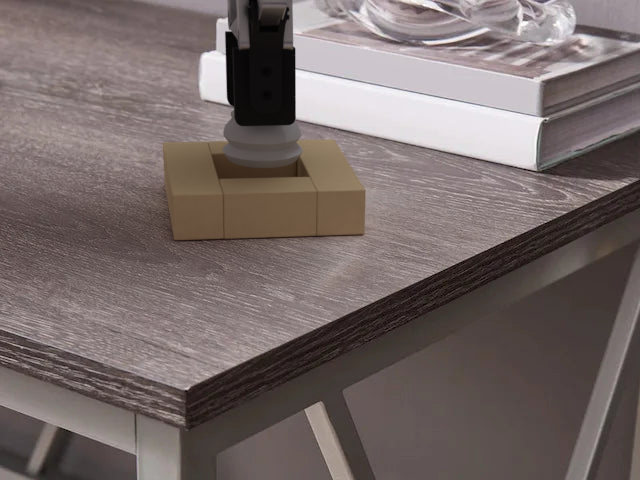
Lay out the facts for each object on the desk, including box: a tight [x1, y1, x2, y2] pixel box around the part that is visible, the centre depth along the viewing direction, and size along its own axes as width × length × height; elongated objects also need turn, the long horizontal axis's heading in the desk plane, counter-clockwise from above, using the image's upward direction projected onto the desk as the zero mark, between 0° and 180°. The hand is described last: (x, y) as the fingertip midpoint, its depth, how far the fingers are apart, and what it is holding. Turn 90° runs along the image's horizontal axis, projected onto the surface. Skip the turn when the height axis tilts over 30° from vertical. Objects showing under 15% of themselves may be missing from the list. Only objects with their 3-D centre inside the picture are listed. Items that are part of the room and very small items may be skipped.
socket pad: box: [162, 138, 366, 241], centre depth 72 cm, size 10×10×2 cm
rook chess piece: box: [222, 18, 303, 168], centre depth 70 cm, size 4×4×8 cm
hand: (260, 110), depth 70 cm, fingers closed on rook chess piece, 3 cm apart
